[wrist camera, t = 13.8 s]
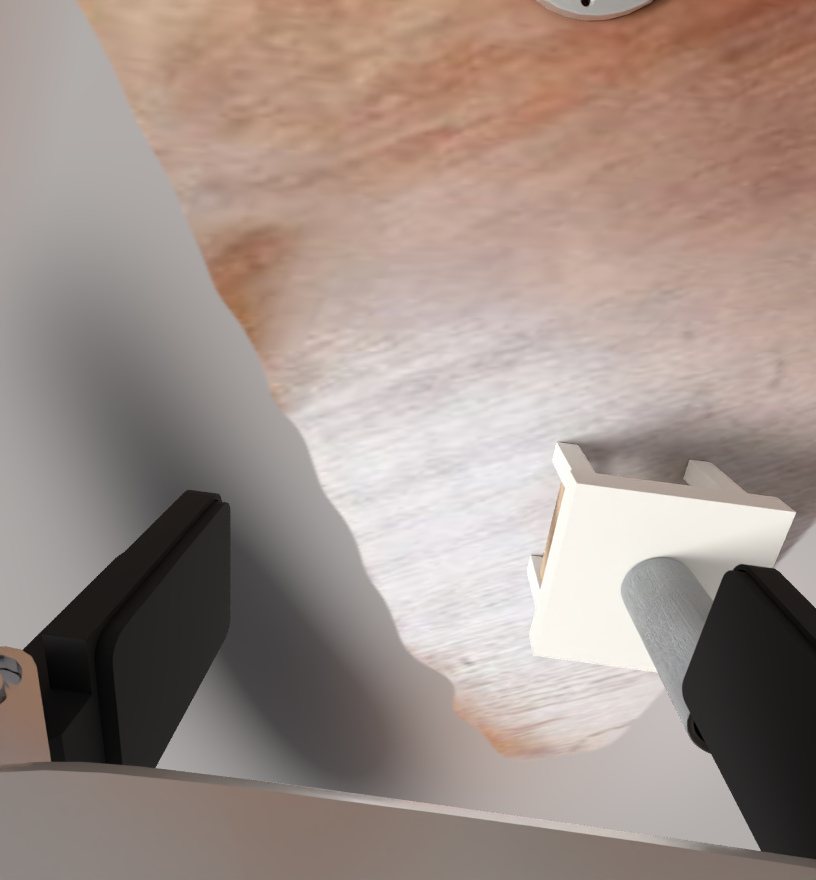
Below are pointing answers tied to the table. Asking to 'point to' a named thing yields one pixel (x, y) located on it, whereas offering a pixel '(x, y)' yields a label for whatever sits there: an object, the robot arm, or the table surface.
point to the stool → (637, 551)
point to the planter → (668, 623)
